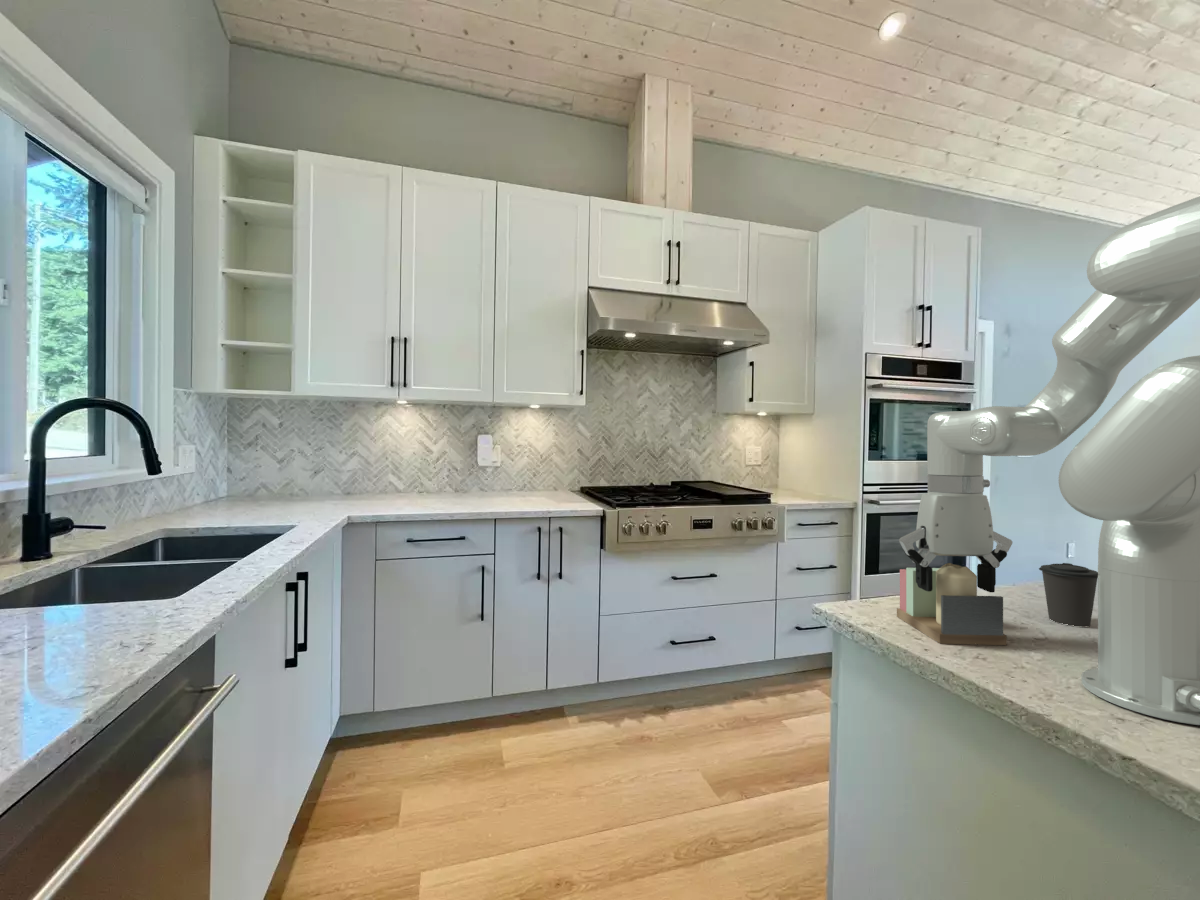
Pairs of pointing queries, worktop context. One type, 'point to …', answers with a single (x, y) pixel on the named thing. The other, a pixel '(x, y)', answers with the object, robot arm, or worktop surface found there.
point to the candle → (954, 584)
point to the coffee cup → (1069, 593)
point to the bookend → (972, 615)
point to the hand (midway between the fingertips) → (955, 589)
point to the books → (917, 595)
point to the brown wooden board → (934, 632)
